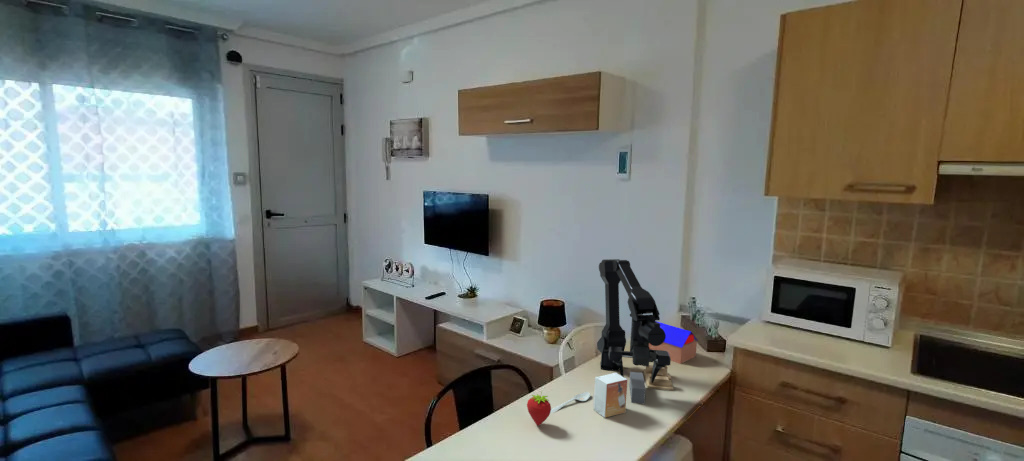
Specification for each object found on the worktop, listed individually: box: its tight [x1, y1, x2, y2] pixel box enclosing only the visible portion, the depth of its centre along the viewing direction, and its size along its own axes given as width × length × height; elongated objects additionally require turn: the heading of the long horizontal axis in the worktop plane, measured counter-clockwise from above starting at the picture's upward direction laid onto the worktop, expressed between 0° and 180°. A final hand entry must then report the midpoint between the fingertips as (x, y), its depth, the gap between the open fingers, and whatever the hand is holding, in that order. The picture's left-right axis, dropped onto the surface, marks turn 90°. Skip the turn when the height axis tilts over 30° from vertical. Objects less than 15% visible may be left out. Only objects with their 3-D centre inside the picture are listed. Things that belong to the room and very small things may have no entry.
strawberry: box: [526, 391, 552, 426], centre depth 135 cm, size 6×8×10 cm
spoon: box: [550, 391, 591, 414], centre depth 147 cm, size 4×21×2 cm, turn 129°
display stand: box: [643, 364, 674, 392], centre depth 165 cm, size 8×14×4 cm, turn 170°
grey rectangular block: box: [628, 371, 646, 405], centre depth 155 cm, size 4×12×5 cm, turn 170°
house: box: [649, 320, 699, 365], centre depth 191 cm, size 12×20×12 cm, turn 41°
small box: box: [593, 372, 628, 419], centre depth 143 cm, size 8×6×10 cm
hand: (637, 381), depth 155 cm, fingers open, 9 cm apart
